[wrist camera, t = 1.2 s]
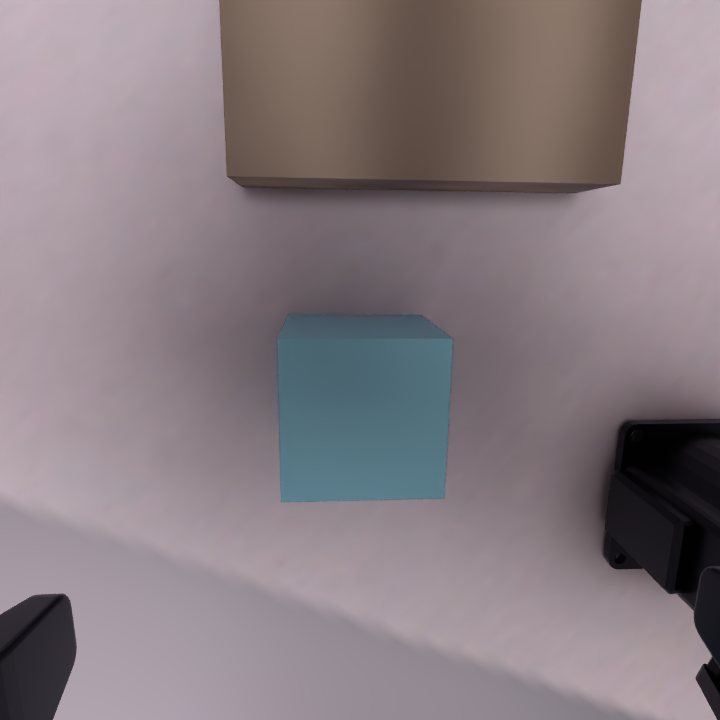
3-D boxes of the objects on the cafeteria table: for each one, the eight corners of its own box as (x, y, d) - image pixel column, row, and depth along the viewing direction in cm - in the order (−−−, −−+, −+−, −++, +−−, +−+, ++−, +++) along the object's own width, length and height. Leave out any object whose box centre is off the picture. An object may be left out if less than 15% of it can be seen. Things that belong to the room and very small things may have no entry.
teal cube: (421, 314, 20) (453, 338, 15) (416, 438, 21) (444, 498, 16) (288, 314, 19) (276, 338, 14) (290, 440, 20) (280, 502, 16)
